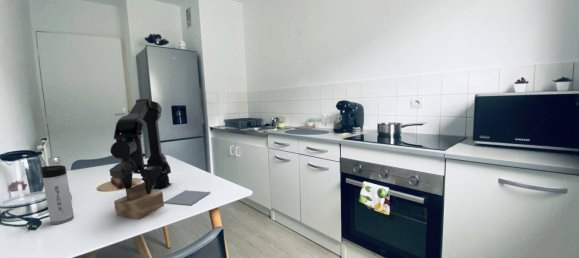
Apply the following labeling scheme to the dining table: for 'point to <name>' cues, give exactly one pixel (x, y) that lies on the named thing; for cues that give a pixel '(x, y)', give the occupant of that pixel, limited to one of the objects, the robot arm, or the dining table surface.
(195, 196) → the mat
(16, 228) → the dining table surface
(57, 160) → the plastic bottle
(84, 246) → the dining table surface
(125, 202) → the cover
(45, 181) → the travel mug
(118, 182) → the brown slipper
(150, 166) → the robot arm
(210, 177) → the dining table surface
